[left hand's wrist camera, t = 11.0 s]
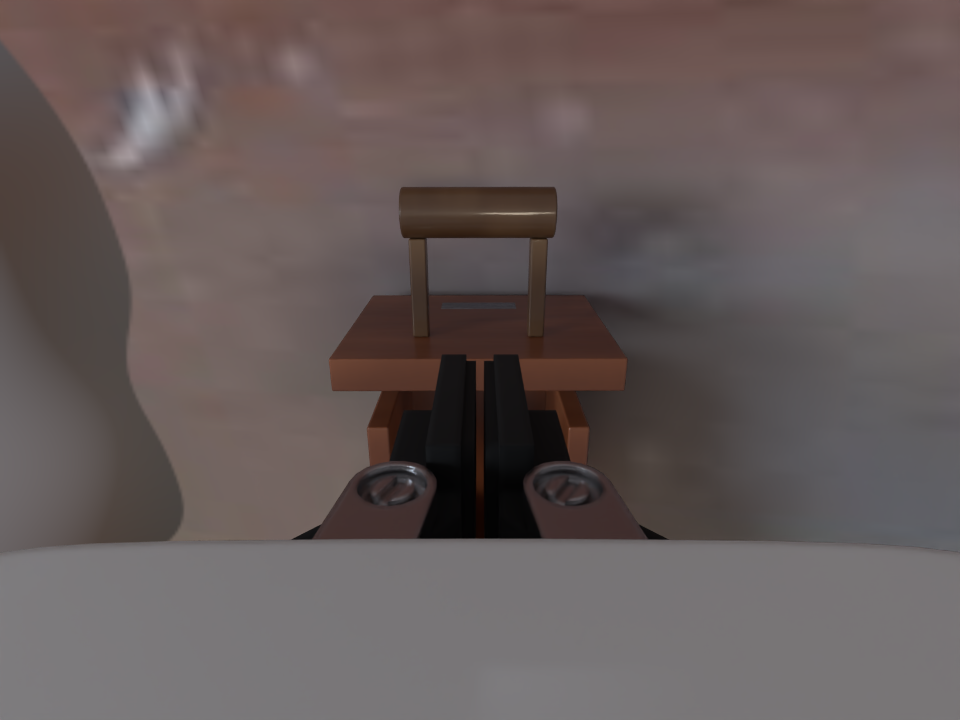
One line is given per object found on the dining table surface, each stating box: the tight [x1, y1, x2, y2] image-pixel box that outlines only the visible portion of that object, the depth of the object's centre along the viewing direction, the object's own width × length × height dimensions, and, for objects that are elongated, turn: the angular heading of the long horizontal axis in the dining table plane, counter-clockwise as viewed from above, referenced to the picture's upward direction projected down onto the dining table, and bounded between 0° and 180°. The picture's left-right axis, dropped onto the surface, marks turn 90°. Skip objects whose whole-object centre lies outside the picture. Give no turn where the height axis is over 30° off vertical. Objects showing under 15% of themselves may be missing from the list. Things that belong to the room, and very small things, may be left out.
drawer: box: [329, 187, 628, 539], centre depth 25 cm, size 25×10×8 cm, turn 0°
